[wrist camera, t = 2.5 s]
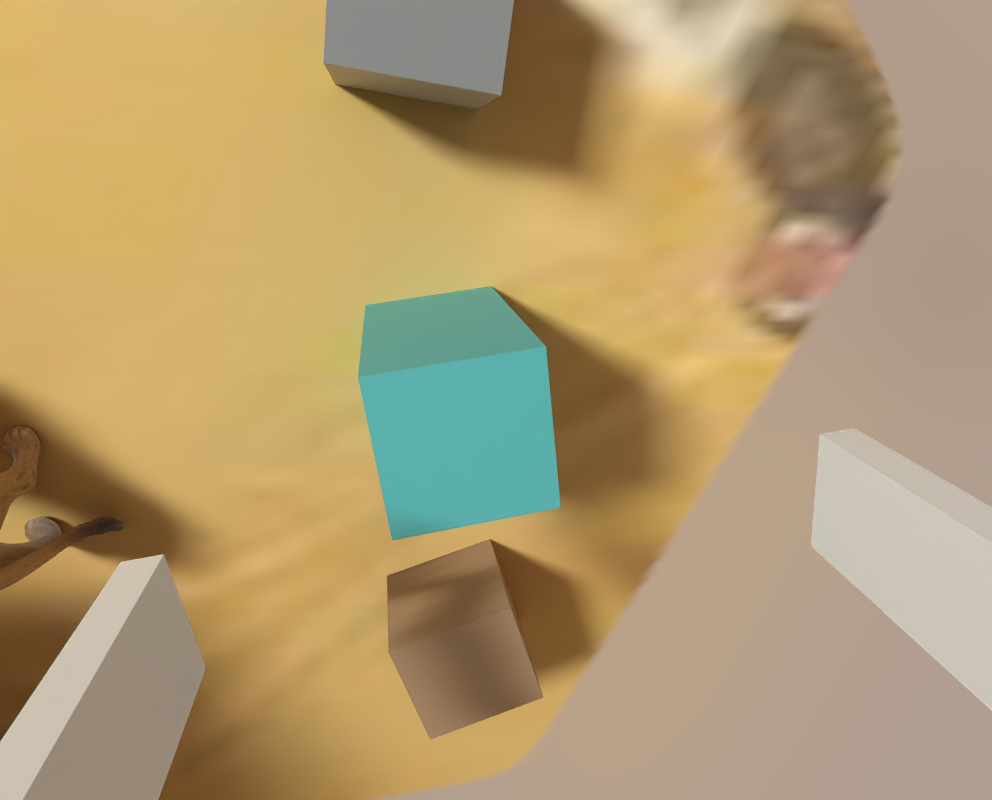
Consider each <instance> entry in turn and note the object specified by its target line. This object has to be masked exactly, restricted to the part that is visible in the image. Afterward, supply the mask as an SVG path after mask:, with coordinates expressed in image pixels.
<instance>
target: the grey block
mask: <svg viewBox="0 0 992 800" xmlns="http://www.w3.org/2000/svg"><path fill="white" fill-rule="evenodd" d="M513 5H514V0H327V7H326V26H325V46H324V64H325V66H326V68H327V70H328V72H329V74H330V75H331V77H332V79H333V81H334V83H335V84H336V85H342V86H347V87H353V88H359V89H364V90H370V91H376V92H381V93H387V94H393V95H398V96H404V97H409V98H415V99H421V100H426V101H432V102H438V103H443V104H449V105H455V106H460V107H466V108H472V109H479V108H481V107H482V106H484V105H486V104H488V103H489V102H491V101H493V100H494V99H496V98H498V97H499V96H501V95H502V87H503V80H504V72H505V65H506V57H507V50H508V42H509V35H510V27H511V20H512V12H513Z"/></svg>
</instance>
